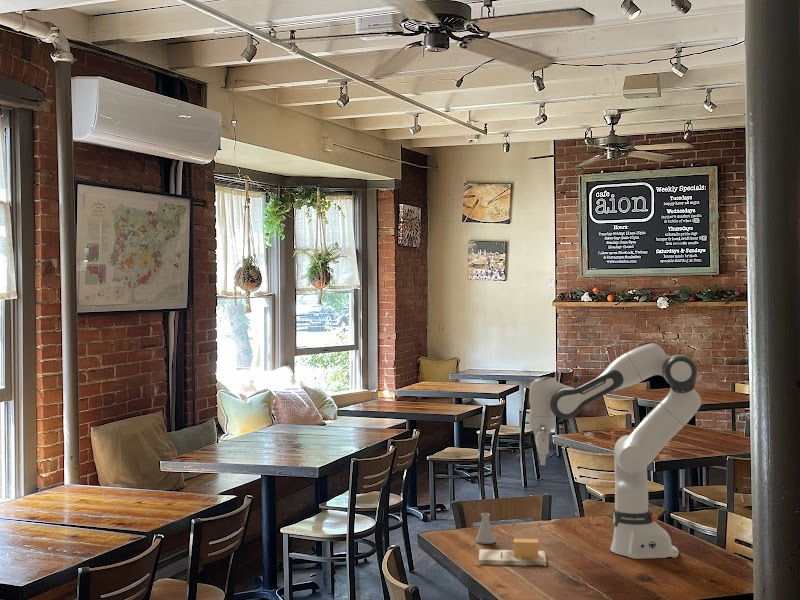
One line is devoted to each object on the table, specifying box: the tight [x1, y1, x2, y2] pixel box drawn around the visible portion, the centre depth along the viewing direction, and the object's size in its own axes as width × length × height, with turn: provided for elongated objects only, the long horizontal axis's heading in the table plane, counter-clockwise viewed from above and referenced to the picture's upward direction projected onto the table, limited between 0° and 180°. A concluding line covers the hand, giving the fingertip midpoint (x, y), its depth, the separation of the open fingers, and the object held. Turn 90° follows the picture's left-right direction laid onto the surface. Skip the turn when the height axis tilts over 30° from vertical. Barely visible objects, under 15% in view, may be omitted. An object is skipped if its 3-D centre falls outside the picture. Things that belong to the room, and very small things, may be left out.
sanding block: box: [513, 538, 539, 558], centre depth 311 cm, size 8×4×5 cm, turn 84°
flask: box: [475, 512, 496, 545], centre depth 333 cm, size 7×7×10 cm
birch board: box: [478, 548, 548, 567], centre depth 311 cm, size 22×12×2 cm, turn 84°
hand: (542, 462), depth 328 cm, fingers open, 8 cm apart
